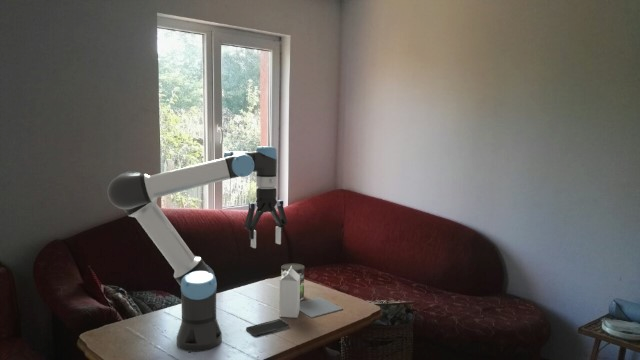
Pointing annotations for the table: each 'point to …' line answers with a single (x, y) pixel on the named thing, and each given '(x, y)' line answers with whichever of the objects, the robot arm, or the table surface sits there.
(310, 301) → the mat
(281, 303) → the milk carton
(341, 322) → the table surface
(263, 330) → the phone
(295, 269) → the coffee can
